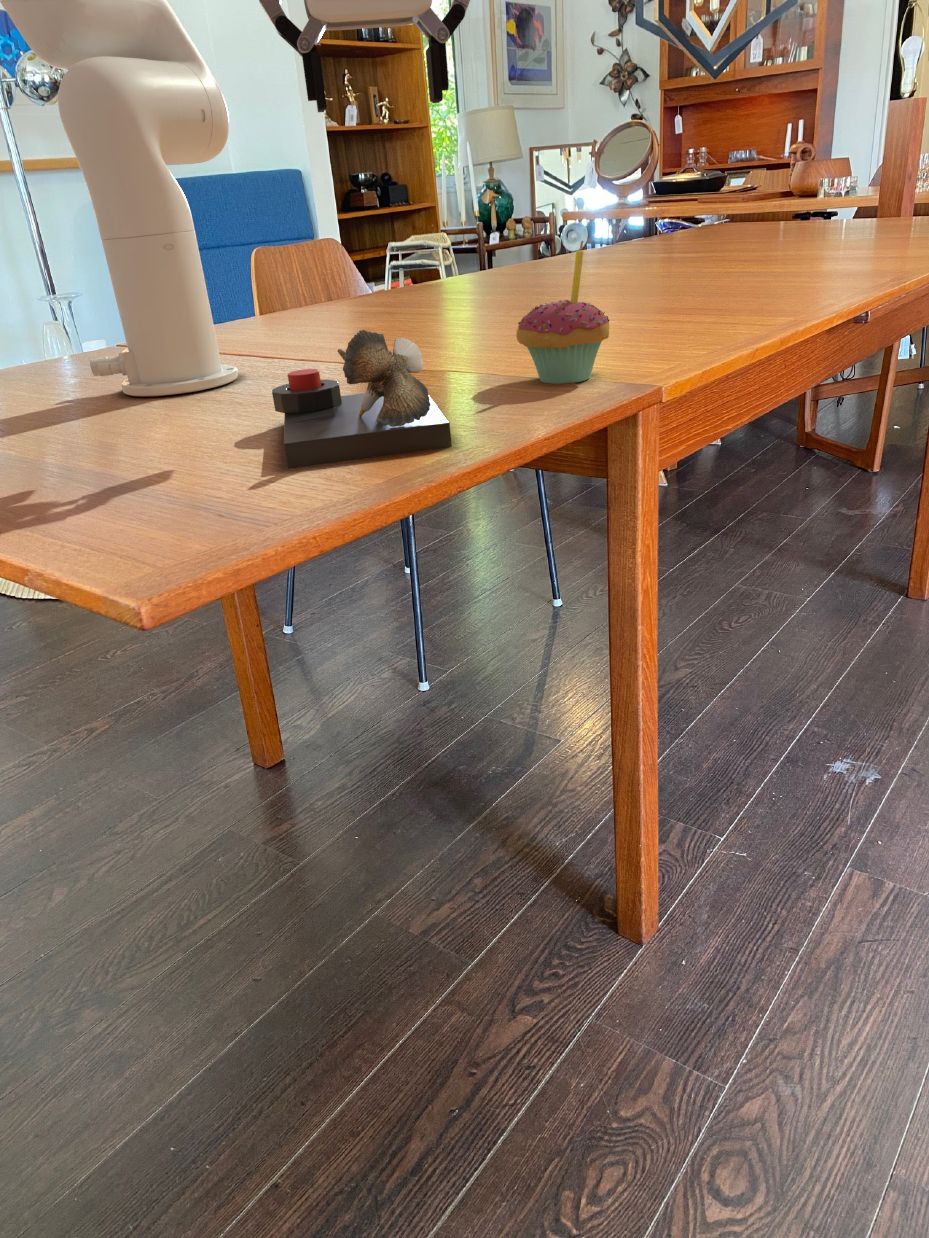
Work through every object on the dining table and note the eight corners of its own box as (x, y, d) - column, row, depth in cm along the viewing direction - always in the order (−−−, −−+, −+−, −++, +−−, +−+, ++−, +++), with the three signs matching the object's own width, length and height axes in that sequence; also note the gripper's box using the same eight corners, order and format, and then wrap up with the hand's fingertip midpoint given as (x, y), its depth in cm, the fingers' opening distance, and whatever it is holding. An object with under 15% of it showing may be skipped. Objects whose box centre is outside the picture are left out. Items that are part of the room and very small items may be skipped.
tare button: (290, 396, 74) (287, 376, 73) (290, 390, 76) (287, 371, 75) (322, 392, 74) (319, 372, 73) (321, 386, 76) (318, 367, 76)
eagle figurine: (317, 397, 73) (322, 396, 64) (353, 313, 72) (363, 301, 63) (403, 438, 75) (419, 442, 66) (439, 357, 74) (460, 351, 65)
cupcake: (608, 367, 89) (605, 235, 84) (612, 385, 81) (610, 241, 76) (521, 374, 90) (513, 244, 85) (517, 392, 82) (508, 250, 77)
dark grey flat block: (277, 471, 65) (268, 422, 63) (279, 425, 79) (272, 384, 77) (452, 448, 66) (447, 400, 65) (424, 407, 80) (420, 366, 79)
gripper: (457, -142, 73) (473, 102, 80) (239, -131, 71) (277, 118, 78) (473, -176, 66) (489, 94, 73) (233, -165, 64) (274, 110, 71)
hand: (379, 106), depth 76 cm, fingers open, 9 cm apart
